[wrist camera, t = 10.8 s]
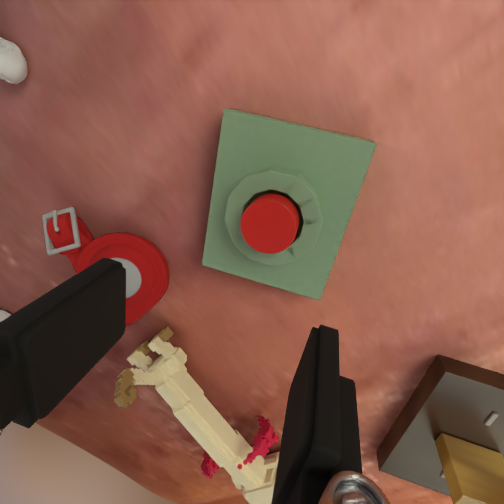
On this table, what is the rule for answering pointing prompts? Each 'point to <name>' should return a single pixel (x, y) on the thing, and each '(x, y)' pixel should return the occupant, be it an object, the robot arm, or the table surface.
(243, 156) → the green button base
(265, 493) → the blocky toy figure
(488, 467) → the lock knob
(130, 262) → the tracker holder
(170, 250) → the table surface
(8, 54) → the woman figurine
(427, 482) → the lock plate
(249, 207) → the button
